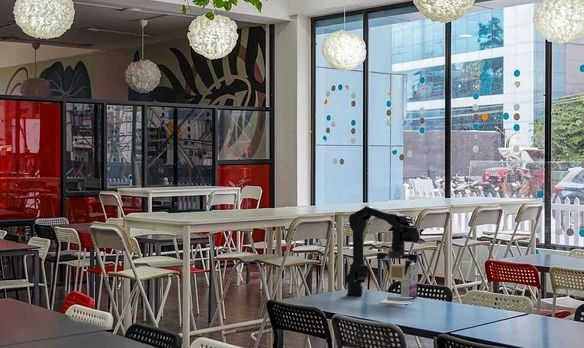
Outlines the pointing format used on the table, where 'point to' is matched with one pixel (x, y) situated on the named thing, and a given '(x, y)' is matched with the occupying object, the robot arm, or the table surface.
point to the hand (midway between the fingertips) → (397, 275)
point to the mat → (395, 300)
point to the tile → (397, 272)
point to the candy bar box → (410, 282)
